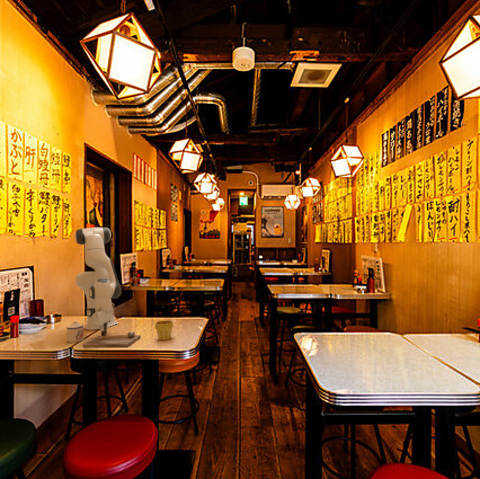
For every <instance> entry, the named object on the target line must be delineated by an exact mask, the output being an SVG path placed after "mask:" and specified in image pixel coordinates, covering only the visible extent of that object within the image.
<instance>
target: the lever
mask: <svg viewBox="0 0 480 479" xmlns="http://www.w3.org/2000/svg"><path fill="white" fill-rule="evenodd" d="M103 326H104V331H100V336H101V339H103V338H133V337H135V335H136V333H135V332H136V331H129V332H127V333H109V334H108V328H107V323H104V325H103Z"/></svg>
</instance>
